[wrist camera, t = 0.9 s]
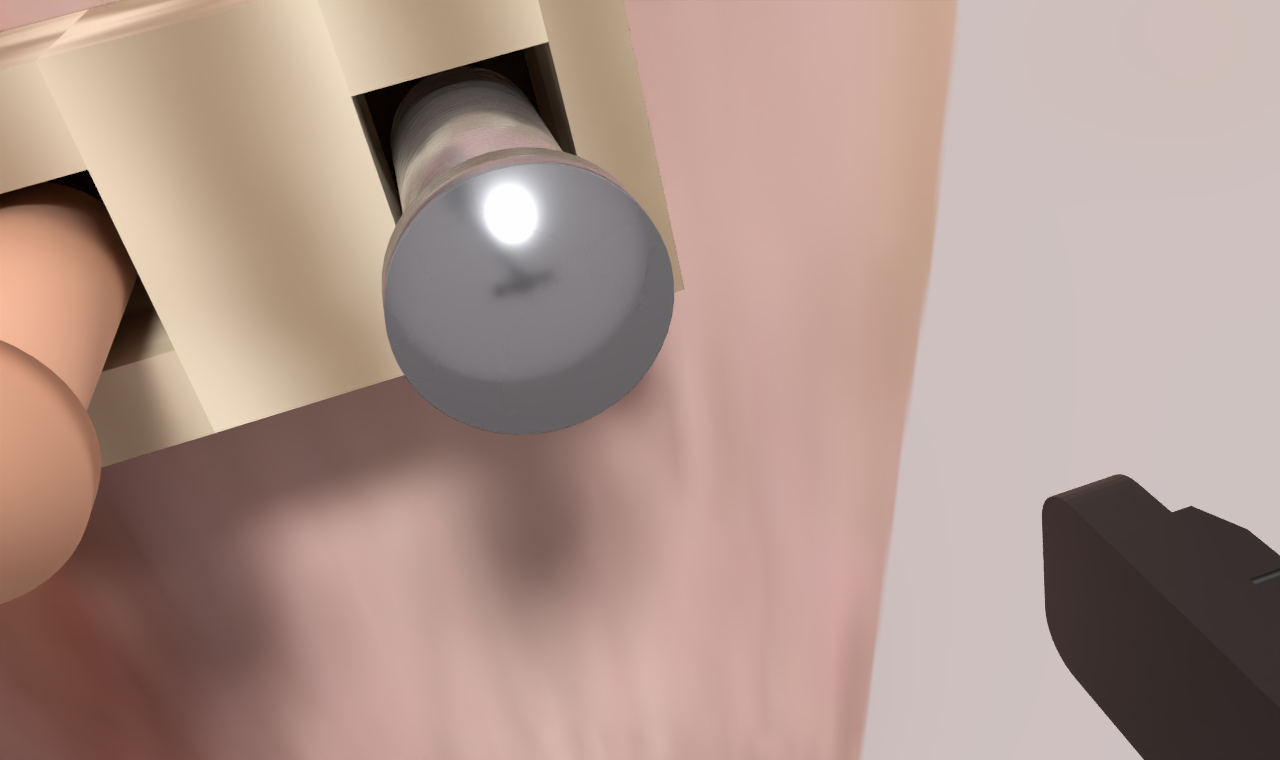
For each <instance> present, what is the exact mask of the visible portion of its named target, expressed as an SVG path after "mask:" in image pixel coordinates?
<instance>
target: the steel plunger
mask: <svg viewBox="0 0 1280 760" xmlns="http://www.w3.org/2000/svg"><path fill="white" fill-rule="evenodd" d="M391 151H392V157H393V163H394V168H395V173H396V179H397V184H398V189H399V195H400V200H401V206H402V211H403V214H402V216H401V218H400V219H399V221H398V222H397V224H396V226H395V229H394V231H393V233H392V235H391V237H390V240H389V243H388V246H387V249H386V253H385V256H384V262H383V269H382V300H383V309H384V317H385V325H386V332H387V336H388V340H389V343H390V346H391V350H392V352H393V354H394V357H395V359H396V361H397V363H398V365H399V367H400V369H401V370H402V372H403V374H404V375H405V377H406V378H407V380H408V381H409V382H410V384H411V385H412V386H413V387H414V388H415V389H416V390H417V392H418V393H419V394H420V395H421V396H422V397H423V398H425V399H426V400H427V401H428V402H429V403H430V404H431V405H433V406H434V407H435V408H437V409H438V410H440V411H441V412H443V413H444V414H446V415H447V416H449V417H452V418H454V419H456V420H458V421H460V422H462V423H464V424H467V425H470V426H473V427H475V428H478V429H482V430H487V431H491V432H496V433H505V434H536V433H544V432H551V431H555V430H559V429H563V428H567V427H570V426H572V425H575V424H578V423H580V422H583V421H585V420H587V419H589V418H591V417H593V416H595V415H597V414H599V413H601V412H603V411H604V410H606V409H607V408H609V407H610V406H612V405H613V404H615V403H616V402H617V401H619V400H620V399H621V398H622V397H623V396H624V395H626V394H627V393H628V392H629V391H630V390H631V389H632V388H633V387H634V386H635V385H636V384H637V383H638V382H639V381H640V380H641V379H642V377H643V376H644V375H645V373H646V372H647V370H648V369H649V368H650V366H651V365H652V364H653V362H654V360H655V358H656V357H657V355H658V353H659V351H660V350H661V347H662V345H663V342H664V340H665V338H666V335H667V333H668V329H669V325H670V321H671V318H672V312H673V304H674V279H673V272H672V265H671V262H670V258H669V255H668V251H667V248H666V246H665V244H664V242H663V240H662V237H661V235H660V233H659V231H658V230H657V228H656V227H655V225H654V224H653V222H652V221H651V219H650V218H649V216H648V215H647V214H646V212H645V211H644V210H643V208H642V207H641V206H640V204H639V203H638V202H637V200H636V199H635V198H634V197H633V195H632V194H631V193H630V192H629V191H628V190H627V188H626V187H625V186H624V185H623V184H622V183H620V182H619V181H618V180H617V179H616V178H615V177H613V176H612V175H611V174H610V173H608V172H607V171H605V170H604V169H602V168H601V167H599V166H597V165H596V164H594V163H592V162H590V161H587V160H585V159H583V158H581V157H579V156H576V155H572V154H569V153H566V152H563V151H562V150H561V148H560V147H559V145H558V143H557V142H556V140H555V139H554V137H553V136H552V134H551V133H550V131H549V130H548V128H547V127H546V125H545V123H544V122H543V120H542V119H541V117H540V116H539V114H538V113H537V111H536V110H535V108H534V107H533V105H532V104H531V102H530V101H529V99H528V98H527V96H526V95H525V94H524V92H523V91H522V90H521V89H520V88H519V87H518V86H517V85H516V84H514V83H513V82H512V81H511V80H509V79H508V78H506V77H505V76H503V75H501V74H499V73H497V72H495V71H492V70H489V69H486V68H481V67H476V66H459V67H456V68H452V69H448V70H445V71H441V72H438V73H434V74H431V75H429V76H427V77H425V78H424V79H422V80H421V81H419V82H418V83H417V84H416V85H415V86H414V87H413V88H411V89H410V91H409V92H408V93H407V94H406V95H405V97H404V98H403V100H402V101H401V103H400V105H399V107H398V109H397V111H396V113H395V116H394V119H393V123H392V128H391Z"/></svg>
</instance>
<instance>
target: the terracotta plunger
mask: <svg viewBox="0 0 1280 760" xmlns="http://www.w3.org/2000/svg"><path fill="white" fill-rule="evenodd" d="M136 276H137V270H136V268H135V266H134V264H133V262H132V260H131V258H130V256H129V254H128V252H127V249H126V247H125V245H124V243H123V241H122V239H121V237H120V235H119V233H118V231H117V229H116V227H115V225H114V222H113V220H112V218H111V216H110V214H109V212H108V210H107V208H106V206H105V204H104V203H102V202H101V201H99V200H98V199H96V198H94V197H93V196H91V195H89V194H87V193H85V192H83V191H80V190H78V189H75V188H72V187H68V186H64V185H60V184H53V183H38V184H34V185H30V186H27V187H23V188H20V189H16V190H12V191H9V192H5V193H2V194H0V604H3V603H5V602H8V601H11V600H13V599H16V598H18V597H20V596H22V595H24V594H26V593H28V592H30V591H32V590H33V589H35V588H36V587H38V586H39V585H41V584H42V583H44V582H45V581H47V580H48V579H49V578H50V577H51V576H52V575H54V574H55V573H56V572H57V571H58V570H59V569H60V568H61V567H62V566H63V565H64V564H65V563H66V561H67V560H68V559H69V558H70V557H71V555H72V554H73V552H74V551H75V549H76V547H77V546H78V544H79V543H80V541H81V539H82V536H83V534H84V531H85V529H86V526H87V523H88V520H89V517H90V514H91V511H92V508H93V504H94V501H95V498H96V495H97V491H98V487H99V482H100V478H101V453H100V445H99V442H98V438H97V434H96V431H95V428H94V426H93V424H92V421H91V419H90V417H89V415H88V413H87V409H88V407H89V404H90V401H91V399H92V396H93V393H94V391H95V388H96V385H97V383H98V380H99V377H100V375H101V372H102V369H103V367H104V364H105V361H106V359H107V356H108V353H109V351H110V348H111V345H112V343H113V340H114V337H115V335H116V332H117V329H118V327H119V324H120V321H121V319H122V316H123V313H124V311H125V308H126V305H127V303H128V300H129V298H130V295H131V292H132V290H133V287H134V284H135V281H136Z"/></svg>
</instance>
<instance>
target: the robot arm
mask: <svg viewBox="0 0 1280 760" xmlns="http://www.w3.org/2000/svg"><path fill="white" fill-rule="evenodd" d="M1042 530H1043V558H1044V586H1045V610H1046V618H1047V623H1048V626H1049V630H1050V633H1051V636H1052V639H1053V641H1054V644H1055V646H1056V648H1057V650H1058V652H1059V654H1060V656H1061V658H1062V660H1063V661H1064V663H1065V665H1066V666H1067V668H1068V669H1069V670H1070V672H1071V673H1072V675H1074V677H1075V678H1076V679H1077V681H1078V682H1079V683H1080V684H1081V685H1082V687H1083V688H1084V689H1085V690H1086V691H1087V692H1088V694H1089V695H1090V696H1091V697H1092V698H1093V700H1094V701H1095V702H1096V703H1097V704H1098V706H1099V707H1100V708H1101V709H1102V710H1103V711H1104V713H1105V714H1106V715H1107V716H1108V717H1109V719H1110V720H1111V721H1112V722H1113V723H1114V725H1115V726H1116V727H1117V728H1118V729H1119V731H1120V732H1121V733H1122V734H1123V735H1124V736H1125V738H1126V739H1127V740H1128V741H1129V742H1130V744H1131V745H1132V746H1133V747H1134V748H1135V750H1136V751H1137V752H1138V753H1139V754H1140V755H1141V757H1142V758H1143V759H1144V760H1280V556H1279V555H1278V554H1277V553H1276V552H1275V551H1274V550H1272V549H1271V548H1269V546H1267V545H1266V544H1265V543H1263V542H1262V541H1261V540H1260V539H1258V538H1257V537H1256V536H1255V535H1254V534H1252V533H1251V532H1250V531H1249V530H1247V529H1245V528H1243V527H1240V526H1238V525H1236V524H1233V523H1230V522H1228V521H1226V520H1224V519H1221V518H1219V517H1216V516H1214V515H1212V514H1209V513H1207V512H1204V511H1202V510H1200V509H1197V508H1194V507H1192V506H1190V507H1187V508H1184V509H1181V510H1178V511H1175V512H1171V511H1169V510H1168V509H1167V508H1166V507H1165V506H1163V505H1162V504H1161V503H1160V502H1159V501H1158V500H1156V499H1155V498H1154V497H1153V496H1152V495H1150V493H1148V492H1147V491H1146V490H1145V489H1144V488H1143V487H1141V486H1140V485H1139V484H1138V483H1137V482H1135V481H1134V480H1133V479H1131V478H1129V477H1127V476H1125V475H1121V474H1118V475H1113V476H1111V477H1108V478H1105V479H1102V480H1099V481H1096V482H1093V483H1090V484H1087V485H1084V486H1081V487H1078V488H1075V489H1072V490H1069V491H1066V492H1064V493H1060V494H1058V495H1054V496H1052V497H1049V498H1048V499H1047V500H1046V501H1045V503H1044V505H1043V510H1042Z"/></svg>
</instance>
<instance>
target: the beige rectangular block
mask: <svg viewBox="0 0 1280 760" xmlns="http://www.w3.org/2000/svg"><path fill="white" fill-rule="evenodd" d="M521 49H523V50H524V54H525V58H526V62H527V66H528V69H529V73H530V77H531V81H532V85H533V88H534V92H535V96H536V100H537V104H538V108H539V111H540V115H541V119H542V120H543V122H544V123H545V125H546V127H547V128H548V130H549V131H550V133H551V134H552V136H553V137H554V139H555V140H556V142H557V143H558V145H559V147H560V148H561V150H562V151H563V152H566V153H569V154H572V155H576V156H579V157H581V158H583V159H585V160H587V161H590V162H592V163H594V164H596V165H597V166H599V167H601V168H602V169H604V170H605V171H607V172H608V173H610V174H611V175H612V176H613V177H615V178H616V179H617V180H618V181H619V182H620V183H622V184H623V185H624V186H625V187H626V188H627V190H628V191H629V192H630V193H631V194H632V195H633V197H634V198H635V199H636V200H637V202H638V203H639V204H640V206H641V207H642V208H643V210H644V211H645V212H646V214H647V215H648V216H649V218H650V219H651V221H652V222H653V224H654V225H655V227H656V228H657V230H658V231H659V233H660V235H661V237H662V240H663V242H664V244H665V246H666V248H667V251H668V255H669V258H670V262H671V265H672V272H673V279H674V292H677V291H680V290H684V285H683V280H682V275H681V271H680V266H679V261H678V256H677V252H676V247H675V242H674V238H673V233H672V228H671V223H670V219H669V214H668V209H667V205H666V200H665V195H664V191H663V186H662V181H661V176H660V172H659V167H658V162H657V158H656V153H655V148H654V144H653V139H652V134H651V129H650V125H649V120H648V115H647V111H646V106H645V101H644V96H643V92H642V87H641V82H640V78H639V73H638V68H637V64H636V59H635V54H634V49H633V45H632V40H631V35H630V31H629V26H628V21H627V17H626V12H625V7H624V2H623V0H122V1H118V2H114V3H110V4H106V5H102V6H99V7H95V8H91V9H87V10H83V11H80V12H76V13H72V14H68V15H64V16H60V17H57V18H53V19H49V20H45V21H41V22H38V23H34V24H30V25H26V26H22V27H19V28H15V29H11V30H7V31H3V32H0V194H2V193H5V192H9V191H12V190H16V189H20V188H23V187H27V186H30V185H34V184H38V183H41V182H45V181H48V180H52V179H56V178H59V177H63V176H66V175H70V174H74V173H77V172H81V171H84V170H88V171H89V173H90V175H91V177H92V179H93V181H94V183H95V185H96V187H97V189H98V191H99V193H100V196H101V198H102V200H103V202H104V204H105V206H106V208H107V210H108V212H109V214H110V216H111V218H112V220H113V222H114V225H115V227H116V229H117V231H118V233H119V235H120V237H121V239H122V241H123V243H124V245H125V247H126V249H127V252H128V254H129V256H130V258H131V260H132V262H133V264H134V266H135V268H136V270H137V272H138V274H137V276H136V281H135V284H134V287H133V290H132V292H131V295H130V298H129V300H128V303H127V305H126V308H125V311H124V313H123V316H122V319H121V321H120V324H119V327H118V329H117V332H116V335H115V337H114V340H113V343H112V345H111V348H110V351H109V353H108V356H107V359H106V361H105V364H104V367H103V369H102V372H101V375H100V377H99V380H98V383H97V385H96V388H95V391H94V393H93V396H92V399H91V401H90V404H89V407H88V409H87V413H88V415H89V417H90V419H91V421H92V424H93V426H94V428H95V431H96V434H97V438H98V442H99V445H100V453H101V468H103V467H106V466H109V465H113V464H116V463H119V462H122V461H126V460H129V459H132V458H135V457H139V456H142V455H145V454H148V453H152V452H155V451H158V450H161V449H165V448H168V447H171V446H175V445H178V444H181V443H184V442H188V441H191V440H194V439H197V438H201V437H204V436H207V435H210V434H214V433H217V432H220V431H223V430H227V429H230V428H233V427H237V426H240V425H243V424H246V423H250V422H253V421H256V420H259V419H263V418H266V417H269V416H272V415H276V414H279V413H282V412H286V411H289V410H292V409H295V408H299V407H302V406H305V405H308V404H312V403H315V402H318V401H321V400H325V399H328V398H331V397H334V396H338V395H341V394H344V393H348V392H351V391H354V390H357V389H361V388H364V387H367V386H370V385H374V384H377V383H380V382H383V381H387V380H390V379H393V378H396V377H400V376H403V375H404V374H403V372H402V370H401V369H400V367H399V365H398V363H397V361H396V359H395V357H394V354H393V352H392V350H391V346H390V343H389V340H388V336H387V332H386V325H385V317H384V309H383V300H382V269H383V262H384V256H385V253H386V249H387V246H388V243H389V240H390V237H391V235H392V233H393V231H394V229H395V226H396V224H397V222H398V221H399V219H400V218H401V216H402V214H403V211H402V206H401V200H400V198H399V196H398V193H397V190H396V187H395V184H394V181H393V178H392V175H391V172H390V169H389V166H388V163H387V160H386V158H385V155H384V152H383V149H382V146H381V143H380V140H379V137H378V134H377V131H376V128H375V125H374V122H373V119H372V116H371V113H370V110H369V108H368V105H367V102H366V99H365V96H364V93H366V92H369V91H373V90H376V89H380V88H384V87H387V86H391V85H394V84H398V83H402V82H405V81H409V80H412V79H416V78H420V77H423V76H427V75H430V74H434V73H438V72H441V71H445V70H448V69H452V68H456V67H459V66H463V65H466V64H470V63H474V62H477V61H481V60H485V59H488V58H492V57H495V56H499V55H503V54H506V53H510V52H513V51H517V50H521Z"/></svg>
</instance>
